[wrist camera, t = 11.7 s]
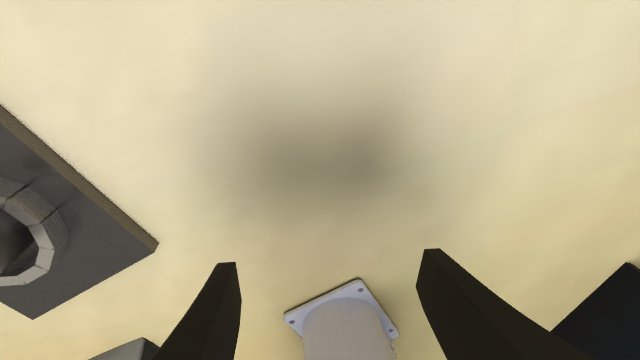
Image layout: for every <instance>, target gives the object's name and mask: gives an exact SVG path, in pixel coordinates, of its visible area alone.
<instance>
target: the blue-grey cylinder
mask: <svg viewBox="0 0 640 360" xmlns="http://www.w3.org/2000/svg"><path fill="white" fill-rule="evenodd" d="M34 241H35V239H34V237H33V235H32V234H31V232H30V230H29V228H28V227H27V226H26V225H24V224H23V223H22V222H20V221H19V220H17V219H16V218H15V217H13V216H12V215H10V214H9V213H7V212H6V211H5V210H3V209H2V208H0V274H1V273H2V272H3V271H4V270H5V269H6V268H7V267H8V266H9V265H10V264H11V263H12V262H13V261H14V260H15V259H16V258H17V257H19V256H20V255H21V254H22V253H23V252H24V251H25V250H26V249H27V248H28V247H29V246H30V245H31V244H32V243H33V242H34Z"/></svg>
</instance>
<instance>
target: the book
mask: <svg viewBox="0 0 640 360" xmlns="http://www.w3.org/2000/svg"><path fill="white" fill-rule="evenodd" d="M551 333H552V334H554V335H556V336H557V337H559V338H560V339H562V340H564V341H565V342H567V343H569V344H571V345H572V346H574V347H576V348H578V349H579V350H581V351H583V352H585V353H586V354H588V355H590V356H592V357H594V358H595V359H597V360H640V269H638V268H637V267H636V266H634V265H633V264H630V263H627V262H626V263H625V264H623V265H622V266H621V267H620V268H619V269H618V270H617V271H616V272H615V273H614V274H613V275H611V276H610V277H609V278H608V279H607V280H606V281H605V282H604V283H603V284H602V285H601V286H600V287H598V288H597V289H596V290H595V291H594V292H593V293H592V294H591V295H590V296H589V297H588V298H586V299H585V300H584V301H583V302H582V303H581V304H580V305H579V306H578V307H577V308H576V309H575V310H573V311H572V312H571V313H570V314H569V315H568V316H567V317H566V318H565V319H564V320H563V321H561V322H560V323H559V324H558V325H557V326H556V327H555V328H554V329H553V330H552V331H551Z"/></svg>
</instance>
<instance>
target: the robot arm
mask: <svg viewBox="0 0 640 360" xmlns="http://www.w3.org/2000/svg"><path fill="white" fill-rule="evenodd" d="M359 288H360V289H359ZM416 289H417V292H418V295H419V298H420V301H421V304H422V307H423V310H424V312H425V315H426V317H427V319H428V321H429V323H430V325H431V327H432V329H433V331H434V334H435V336H436V338H437V340H438V342H439V344H440V346H441V348H442V350H443V352H444V354H445V356H446V358H447V360H597V359H595V358H594V357H592V356H590V355H588V354H586V353H585V352H583V351H581V350H579V349H578V348H576V347H574V346H572V345H571V344H569V343H567V342H565V341H564V340H562V339H560V338H559V337H557V336H556V335H554V334H552V333H551V332H549V331H548V330H546V329H544V328H543V327H541V326H540V325H538V324H537V323H535V322H534V321H532V320H531V319H529V318H528V317H526V316H525V315H523V314H522V313H520V312H519V311H518V310H516V309H515V308H513V307H512V306H511V305H509V304H508V303H507V302H505V301H504V300H503V299H501V298H500V297H499V296H497V295H496V294H495V293H493V292H492V291H491V290H489V289H488V288H487V287H486V286H484V285H483V284H482V283H481V282H479V281H478V280H477V279H476V278H475V277H473V276H472V275H471V274H470V273H469V272H467V271H466V270H465V269H464V268H463V267H461V266H460V265H459V264H458V263H457V262H455V261H454V260H453V259H452V258H451V257H449V256H448V255H447V254H446V253H445V252H443V251H442V250H441V249H440V248H437V249H424V253H423V257H422V261H421V266H420V270H419V274H418V278H417V283H416ZM241 302H242V299H241V293H240V287H239V281H238V275H237V268H236V262H226V263H218V264H217V265H216V266H215V268H214V270H213V271H212V273H211V275H210V277H209V278H208V280H207V282H206V283H205V285H204V286H203V288H202V290H201V291H200V293H199V294H198V296H197V297H196V299H195V300H194V302H193V303H192V305H191V306H190V308H189V309H188V311H187V312H186V314H185V315H184V317H183V318H182V319H181V321H180V322H179V323H178V325H177V326H176V327H175V329H174V330H173V331H172V333H171V334H170V336H169V337H168V338H167V339H166V341H165V342H164V343H163V345H162V346H161V347H160V348H159V350H158V351H157V352H156V353H155V354H154V356H153V357H152V358H151V359H150V360H233V359H234V354H235V349H236V344H237V338H238V333H239V327H240V315H241ZM284 321H285V322H286V323H287V324H288V325H289V326H290V327H291V328H292V329H293V330H294V331H295V332H296V333H297V334H298V335H299V336H300V337H302V338H303V342H304V357H305V360H398V359H397V356H396V353H395V350H394V347H393V344H392V341H391V340H392V339H395V338H397V337H398V336H399V332H398V330H397V328H396V327H395V326H394V324H393V323H392V321H391V320H390V319H389V317H388V316H387V314H386V313H385V312H384V310H383V309H382V308H381V306H380V305H379V303H378V302H377V301H376V299H375V298H374V297H373V295H372V294H371V292H370V291H369V290H368V288H367V287H366V286H365V284H364V283H363V281H362V280H354V281H352V282H350V283H348V284H346V285H344V286H342V287H340V288H337V289H335V290H333V291H331V292H329V293H327V294H325V295H323V296H321V297H319V298H316V299H314V300H312V301H310V302H308V303H306V304H304V305H302V306H300V307H297V308H295V309H293V310H291V311H289V312H287V313H285V314H284Z"/></svg>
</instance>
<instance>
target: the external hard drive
mask: <svg viewBox="0 0 640 360" xmlns="http://www.w3.org/2000/svg"><path fill="white" fill-rule="evenodd" d="M159 348H160V347H158V346H156V345H155V344H153V343H151V342H150V341H148V340H147V339H145V338H140V339H137V340H134V341H131V342H129V343H126V344H124V345H121V346H119V347H116V348H114V349H112V350H109V351H107V352H105V353H102V354H100V355H98V356H96V357H93V358H91V359H89V360H150V359H151V358H152V357H153V356H154V354H155V353H156V352H157V351H158V350H159Z"/></svg>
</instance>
